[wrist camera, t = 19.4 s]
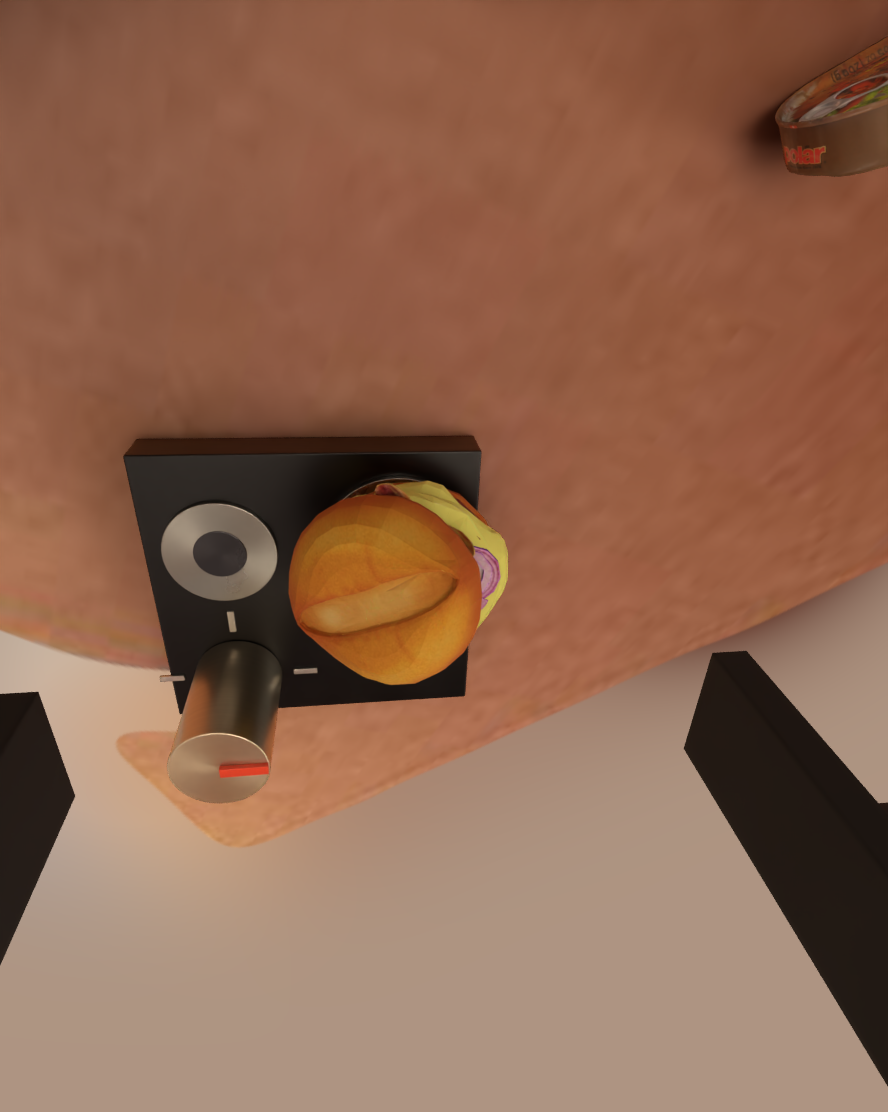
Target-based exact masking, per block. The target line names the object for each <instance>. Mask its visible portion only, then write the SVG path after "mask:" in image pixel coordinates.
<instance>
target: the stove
mask: <svg viewBox="0 0 888 1112" xmlns="http://www.w3.org/2000/svg"><path fill="white" fill-rule="evenodd" d="M123 458H124V462H125V467H126V471H127V476H128V480H129V485H130V490H131V494H132V499H133V503H134V508H135V512H136V517H137V521H138V526H139V531H140V535H141V540H142V544H143V549H144V553H145V558H146V563H147V567H148V572H149V576H150V581H151V585H152V590H153V594H154V599H155V604H156V608H157V613H158V617H159V622H160V626H161V631H162V636H163V640H164V645H165V649H166V654H167V658H168V663H169V667H170V672H171V675H163V676H160V681H161V682H166V681H173V686H174V690H175V695H176V699H177V704H178V708H179V713H180V714H182V713H183V710H184V707H185V704H186V700H187V697H188V694H189V691H190V688H191V684H192V681H193V678H194V675H195V671H196V668H197V665H198V662H199V660H200V659H201V657H202V656H203V655H204V654H205V653H206V652H207V651H208V650H209V649H211V648H212V647H214V646H216V645H219V644H222V643H225V642H231V641H245V642H250V643H254V644H257V645H260V646H262V647H264V648H265V649H267V650H268V651H270V652H271V653H272V654H273V655H274V656H275V657H276V659H277V660H278V662H279V663H280V666H281V669H282V682H281V690H280V698H279V706H278V708H286V707H302V706H318V705H333V704H349V703H365V702H380V701H396V700H412V699H428V698H443V697H459V696H465V690H466V675H467V660H468V646H467V648H466V650H465V651H464V653H463V654H461V655H460V656H459V657H458V658H457V659H456V660H455V661H453V662H452V663H451V664H450V665H449V666H448V667H447V668H445V669H444V670H442V671H440V672H439V673H437V674H435V675H433V676H430V677H428V678H426V679H424V680H422V681H420V682H417V683H415V684H399V685H389V684H384V683H381V682H378V681H375V680H372V679H368V678H366V677H363V676H362V675H360V674H358V673H356V672H355V671H353V670H351V669H350V668H348V667H347V666H345V665H344V664H343V663H341V662H340V661H338V660H337V659H336V658H334V657H333V656H332V655H331V654H330V653H328V652H327V651H326V650H325V649H324V648H322V647H321V646H320V645H319V644H318V643H317V642H316V641H315V640H313V639H312V638H311V637H310V636H308V635H307V634H306V633H305V632H304V631H303V630H302V629H301V628H300V627H299V626H298V624H297V622H296V619H295V617H294V614H293V611H292V607H291V602H290V598H289V571H290V564H291V560H292V556H293V551H294V548H295V546H296V543H297V541H298V539H299V537H300V535H301V533H302V532H303V531H304V529H305V528H306V527H307V526H308V525H309V524H310V523H311V522H312V520H313V519H314V518H315V517H316V516H317V515H318V514H319V513H321V512H322V511H324V510H326V509H327V508H329V507H331V506H332V505H334V504H336V503H337V502H338V501H339V500H340V499H341V498H342V497H343V496H344V495H345V494H347V493H348V492H349V491H351V490H352V489H354V488H355V487H357V486H359V485H361V484H363V483H365V482H368V481H371V480H374V479H377V478H382V477H387V476H409V477H415V478H419V479H423V480H426V481H427V480H428V481H431V482H434V483H437V484H441V485H443V486H444V487H445V488H446V489H448V490H451V491H454V492H456V493H459V494H460V495H461V496H462V497H463V498H464V499H465V500H466V501H467V502H468V503H469V504H470V505H471V506H472V507H473V508H474V509H475V510H476V511H478V496H479V481H480V466H481V450H480V448H479V446H478V444H477V442H476V440H475V438H474V436H413V437H311V438H208V439H137V440H136V441H135V442H134V443H133V445H132V446H131V447H130V448H129V450H128V451H127V452H126V453H125V454H124V456H123ZM204 501H226V502H231V503H235V504H238V505H241V506H243V507H246V508H248V509H249V510H251V511H253V512H254V513H256V514H257V515H258V516H259V517H261V518H262V519H263V520H264V521H265V522H266V523H267V525H268V526H269V527H270V529H271V530H272V532H273V534H274V536H275V539H276V542H277V546H278V561H277V566H276V569H275V572H274V574H273V576H272V578H271V579H270V581H269V582H268V583H267V584H266V585H265V586H264V587H263V588H262V589H260V590H259V591H257V592H256V593H254V594H252V595H250V596H248V597H245V598H242V599H237V600H230V601H219V600H212V599H207V598H204V597H201V596H198V595H196V594H193V593H191V592H190V591H188V590H186V589H185V588H184V587H182V586H181V585H180V584H179V583H177V582H176V581H175V580H174V578H173V577H172V576H171V575H170V573H169V572H168V570H167V568H166V566H165V564H164V562H163V558H162V553H161V542H162V537H163V534H164V531H165V529H166V527H167V525H168V524H169V522H170V521H171V520H172V518H173V517H174V516H175V515H176V514H177V513H178V512H180V511H181V510H183V509H184V508H186V507H188V506H190V505H193V504H196V503H199V502H204Z"/></svg>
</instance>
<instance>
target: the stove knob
mask: <svg viewBox="0 0 888 1112" xmlns="http://www.w3.org/2000/svg"><path fill="white" fill-rule="evenodd" d="M281 682H282V669H281V666H280V663H279V662H278V660H277V659H276V657H275V656H274V655H273V654H272V653H271V652H270V651H268V650H267V649H265V648H264V647H262V646H260V645H257V644H254V643H250V642H245V641H231V642H225V643H222V644H219V645H216V646H214V647H212V648H211V649H209V650H208V651H207V652H206V653H205V654H204V655H203V656H202V657H201V659H200V660H199V662H198V665H197V668H196V671H195V675H194V678H193V681H192V684H191V688H190V691H189V694H188V697H187V700H186V704H185V707H184V710H183V713H182V717H181V720H180V723H179V726H178V730H177V733H176V736H175V739H174V743H173V746H172V749H171V752H170V755H169V759H168V763H167V771H168V775H169V778H170V780H171V781H172V783H173V784H174V785H175V787H176V788H177V789H178V790H180V791H181V792H182V793H184V794H185V795H187V796H189V797H191V798H194V799H196V800H199V801H203V802H209V803H230V802H236V801H240V800H243V799H245V798H248V797H250V796H252V795H253V794H255V793H256V792H258V791H259V790H260V789H261V788H262V787H263V786H264V784H265V783H266V781H267V780H268V777H269V775H270V768H271V760H272V753H273V745H274V737H275V729H276V721H277V714H278V706H279V698H280V690H281Z"/></svg>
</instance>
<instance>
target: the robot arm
mask: <svg viewBox="0 0 888 1112" xmlns="http://www.w3.org/2000/svg"><path fill="white" fill-rule="evenodd" d="M684 750H685V751H686V753H687V755H688V756H689V758H690V760H691V761H692V763H693V765H694V766H695V768H696V770H697V771H698V773H699V775H700V776H701V778H702V780H703V781H704V783H705V784H706V786H707V788H708V790H709V791H710V793H711V794H712V796H713V798H714V799H715V801H716V803H717V804H718V806H719V808H720V809H721V811H722V813H723V814H724V816H725V818H726V819H727V821H728V823H729V824H730V826H731V828H732V829H733V831H734V832H735V834H736V836H737V837H738V839H739V841H740V842H741V844H742V846H743V847H744V849H745V851H746V852H747V854H748V856H749V857H750V859H751V861H752V862H753V864H754V866H755V867H756V869H757V871H758V872H759V874H760V876H761V877H762V879H763V881H764V882H765V884H766V886H767V887H768V889H769V891H770V892H771V894H772V895H773V897H774V899H775V900H776V902H777V904H778V905H779V907H780V909H781V910H782V912H783V914H784V915H785V917H786V919H787V920H788V922H789V924H790V925H791V927H792V928H793V930H794V932H795V934H796V935H797V937H798V939H799V940H800V942H801V943H802V945H803V947H804V948H805V950H806V952H807V953H808V955H809V957H810V958H811V960H812V962H813V963H814V965H815V967H816V968H817V970H818V972H819V973H820V975H821V977H822V978H823V980H824V981H825V983H826V985H827V987H828V988H829V990H830V992H831V993H832V995H833V996H834V998H835V1000H836V1001H837V1003H838V1005H839V1006H840V1008H841V1010H842V1011H843V1013H844V1015H845V1016H846V1018H847V1020H848V1021H849V1023H850V1024H851V1026H852V1028H853V1029H854V1031H855V1033H856V1035H857V1036H858V1038H859V1040H860V1041H861V1043H862V1044H863V1046H864V1048H865V1049H866V1051H867V1053H868V1054H869V1056H870V1058H871V1059H872V1061H873V1063H874V1064H875V1066H876V1068H877V1069H878V1071H879V1073H880V1074H881V1076H882V1078H883V1079H884V1081H885V1083H886V1084H887V1086H888V803H877V801H876V800H875V799H874V798H873V796H872V795H871V794H870V793H869V792H868V791H867V790H866V788H865V787H864V786H863V785H862V784H861V783H860V782H859V780H858V779H857V778H856V777H855V776H854V775H853V773H852V772H851V771H850V770H849V769H848V768H847V767H846V765H845V764H844V763H843V762H842V761H841V760H840V759H839V757H838V756H837V755H836V754H835V753H834V752H833V750H832V749H831V748H830V747H829V746H828V745H827V743H826V742H825V741H824V740H823V739H822V738H821V737H820V735H819V734H818V733H817V732H816V731H815V730H814V728H813V727H812V726H811V725H810V724H809V723H808V721H807V720H806V719H805V718H804V717H803V716H802V715H801V714H800V712H799V711H798V710H797V709H796V708H795V706H794V705H793V704H792V703H791V702H790V701H789V700H788V698H787V697H786V696H785V695H784V694H783V693H782V691H781V690H780V689H779V688H778V687H777V686H776V685H775V683H774V682H773V681H772V680H771V679H770V678H769V676H768V675H767V674H766V673H765V672H764V671H763V670H762V669H761V667H760V666H759V665H758V664H757V663H756V661H755V660H754V659H753V658H752V657H751V656H750V655H749V654H748V652H747V651H738V652H720V653H712V656H711V659H710V663H709V666H708V669H707V673H706V676H705V679H704V683H703V686H702V689H701V693H700V696H699V699H698V703H697V706H696V709H695V713H694V716H693V719H692V723H691V726H690V729H689V733H688V736H687V739H686V743H685V746H684ZM74 797H75V794H74V791H73V789H72V786H71V783H70V780H69V777H68V774H67V772H66V769H65V766H64V763H63V761H62V757H61V755H60V752H59V749H58V746H57V743H56V741H55V738H54V735H53V732H52V729H51V727H50V724H49V721H48V718H47V715H46V712H45V709H44V707H43V704H42V701H41V698H40V696H39V693H38V692H27V693H10V694H0V964H1V962H2V960H3V958H4V955H5V953H6V951H7V949H8V946H9V944H10V942H11V940H12V937H13V935H14V933H15V931H16V928H17V926H18V924H19V922H20V919H21V917H22V915H23V913H24V910H25V908H26V906H27V904H28V901H29V899H30V897H31V895H32V892H33V890H34V888H35V886H36V883H37V881H38V879H39V876H40V874H41V872H42V870H43V868H44V865H45V863H46V861H47V858H48V856H49V854H50V852H51V849H52V847H53V845H54V843H55V840H56V838H57V836H58V834H59V831H60V829H61V827H62V825H63V822H64V820H65V818H66V816H67V813H68V811H69V809H70V807H71V804H72V802H73V800H74Z"/></svg>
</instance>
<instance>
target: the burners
mask: <svg viewBox="0 0 888 1112" xmlns="http://www.w3.org/2000/svg"><path fill="white" fill-rule="evenodd" d="M423 481H426V480H423V479H419V478H415V477H409V476H387V477H382V478H377V479H374V480H371V481H368V482H365V483H363V484H361V485H359V486H357V487H355V488H354V489H352V490H351V491H349V492H348V493H347V494H345V495H344V496H343V497H342V498H341V499H340V500H339V501H341V500H343V499H348V498H352V497H354V496H357V495H367V494H369V493H371V492H374V491H375V488H376V486H377V485H379V484H382V483H390V484H393V483H402V482H423ZM339 501H338V502H339ZM161 553H162V558H163V562H164V564H165V566H166V568H167V570H168V572H169V573H170V575H171V576H172V577H173V578H174V580H175V581H176V582H177V583H179V584H180V585H181V586H182V587H184V588H185V589H186V590H188V591H190V592H191V593H193V594H196V595H198V596H201V597H204V598H207V599H212V600H219V601H230V600H237V599H242V598H245V597H248V596H250V595H252V594H254V593H256V592H257V591H259V590H260V589H262V588H263V587H264V586H265V585H266V584H267V583H268V582H269V581H270V579H271V578H272V576H273V574H274V572H275V569H276V566H277V561H278V546H277V542H276V539H275V536H274V534H273V532H272V530H271V529H270V527H269V526H268V525H267V523H266V522H265V521H264V520H263V519H262V518H261V517H259V516H258V515H257V514H256V513H254V512H253V511H251V510H249V509H248V508H246V507H243V506H241V505H238V504H235V503H231V502H226V501H204V502H199V503H196V504H193V505H190V506H188V507H186V508H184V509H183V510H181V511H180V512H178V513H177V514H176V515H175V516H174V517H173V518H172V520H171V521H170V522H169V524H168V525H167V527H166V529H165V531H164V534H163V537H162V542H161Z"/></svg>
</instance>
